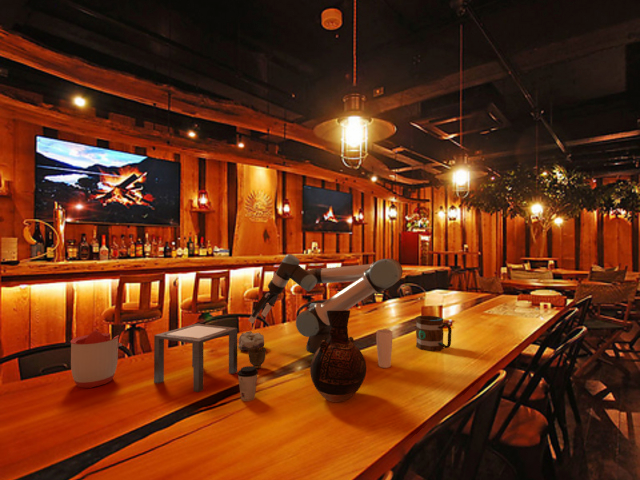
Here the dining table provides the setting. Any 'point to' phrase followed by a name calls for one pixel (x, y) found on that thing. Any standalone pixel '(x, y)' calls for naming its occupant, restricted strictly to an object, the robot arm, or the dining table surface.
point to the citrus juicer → (94, 359)
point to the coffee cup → (247, 382)
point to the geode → (250, 341)
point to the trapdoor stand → (194, 353)
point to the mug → (431, 333)
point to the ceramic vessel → (338, 361)
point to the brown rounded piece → (257, 356)
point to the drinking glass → (384, 347)
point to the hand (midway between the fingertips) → (257, 318)
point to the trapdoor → (196, 332)
